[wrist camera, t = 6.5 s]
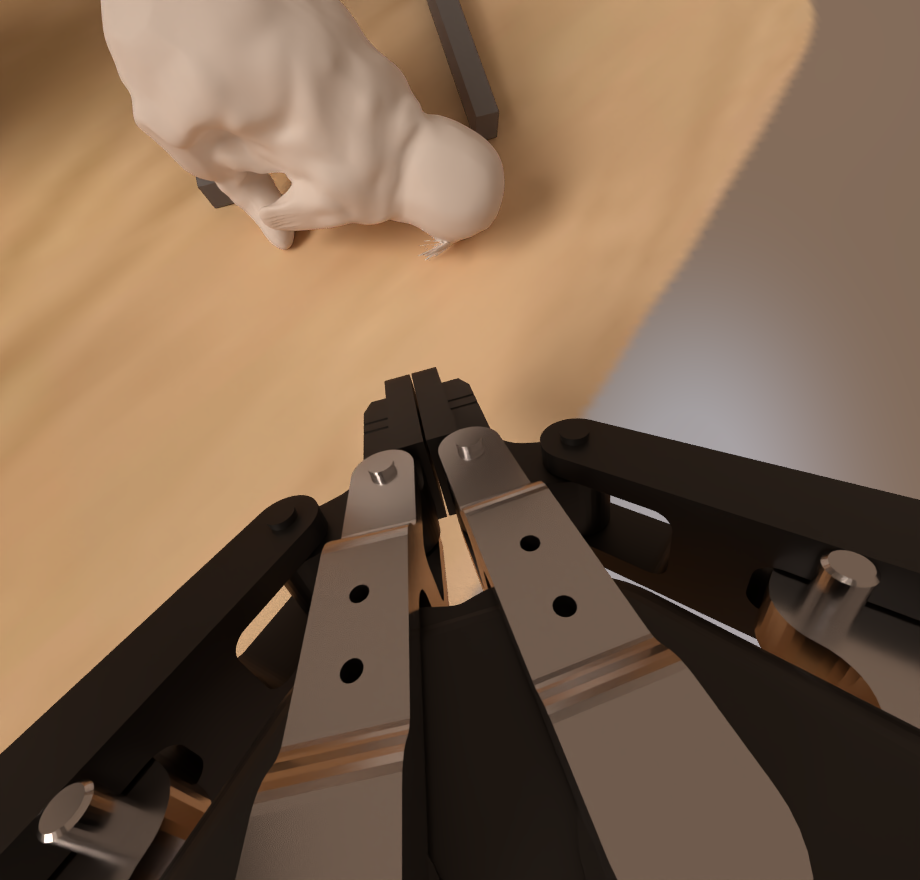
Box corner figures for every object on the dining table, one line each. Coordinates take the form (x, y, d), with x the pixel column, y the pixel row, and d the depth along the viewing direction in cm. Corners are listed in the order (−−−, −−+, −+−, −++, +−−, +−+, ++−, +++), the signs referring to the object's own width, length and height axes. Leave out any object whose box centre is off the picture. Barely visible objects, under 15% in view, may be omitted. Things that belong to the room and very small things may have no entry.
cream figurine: (118, -202, 10) (569, -45, 11) (255, 114, 19) (506, 194, 19) (2, -11, 9) (508, 154, 10) (202, 233, 18) (469, 315, 18)
